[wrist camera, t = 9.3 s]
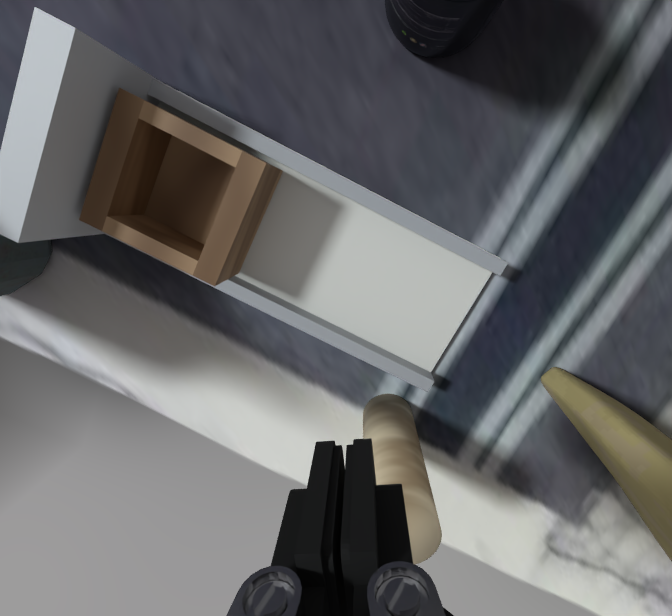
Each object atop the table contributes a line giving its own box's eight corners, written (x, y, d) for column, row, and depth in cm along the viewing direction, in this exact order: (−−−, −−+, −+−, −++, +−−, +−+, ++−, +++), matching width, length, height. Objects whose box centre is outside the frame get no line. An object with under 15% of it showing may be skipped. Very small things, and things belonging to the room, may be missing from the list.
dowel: (421, 407, 32) (456, 523, 20) (397, 445, 33) (417, 577, 21) (377, 385, 31) (386, 490, 20) (354, 425, 32) (351, 546, 21)
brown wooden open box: (283, 170, 27) (266, 163, 22) (238, 273, 29) (214, 286, 24) (163, 109, 27) (119, 87, 22) (126, 217, 29) (78, 219, 24)
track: (499, 257, 28) (560, 280, 20) (422, 381, 31) (446, 449, 22) (140, 71, 27) (34, 6, 18) (94, 220, 29) (-18, 225, 21)
